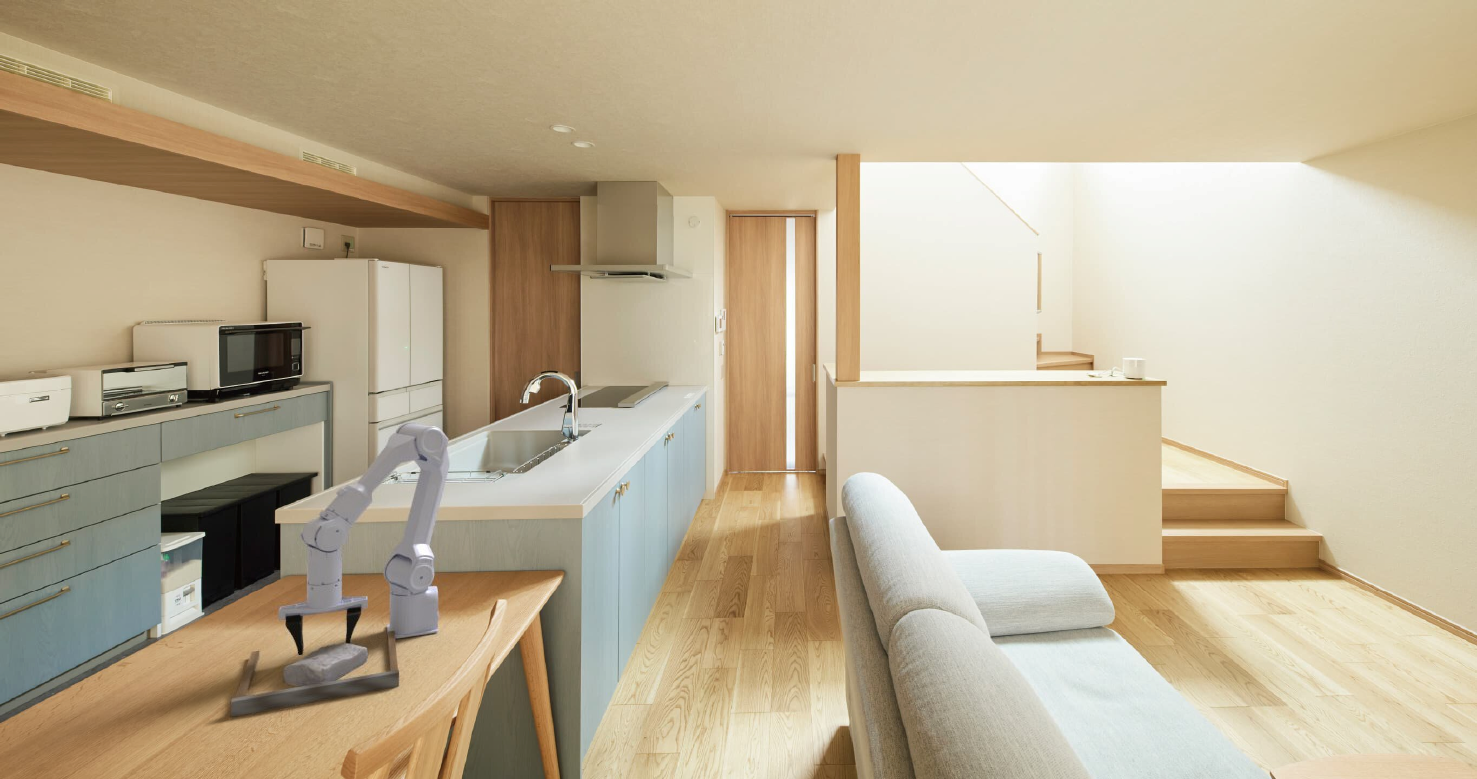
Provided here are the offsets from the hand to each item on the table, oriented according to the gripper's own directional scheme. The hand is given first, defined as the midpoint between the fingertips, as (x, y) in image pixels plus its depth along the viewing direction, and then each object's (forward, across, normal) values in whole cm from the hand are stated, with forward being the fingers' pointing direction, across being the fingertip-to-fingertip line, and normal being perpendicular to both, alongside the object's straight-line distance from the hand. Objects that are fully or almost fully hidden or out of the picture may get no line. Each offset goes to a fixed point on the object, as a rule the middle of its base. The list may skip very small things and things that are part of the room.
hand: (324, 649), depth 132 cm
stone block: (+2, 0, +6) cm, 6 cm away
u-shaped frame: (+2, 0, +5) cm, 6 cm away
